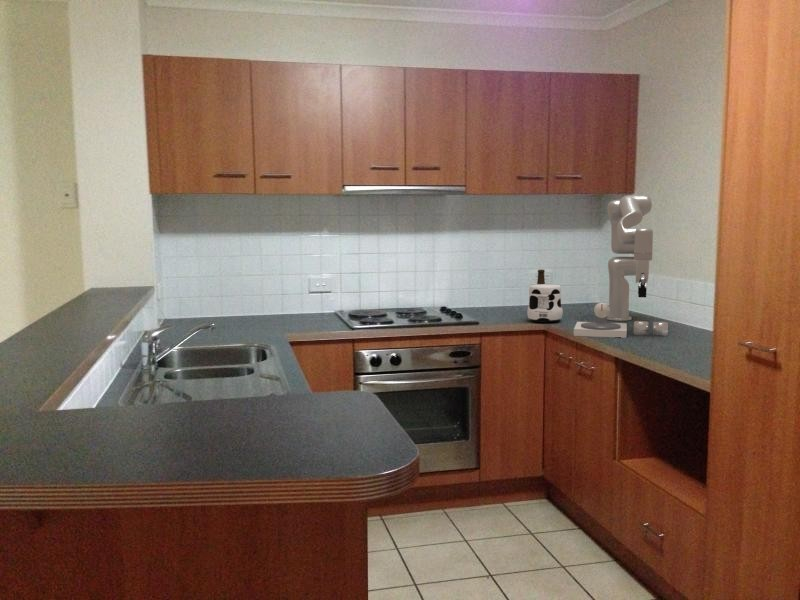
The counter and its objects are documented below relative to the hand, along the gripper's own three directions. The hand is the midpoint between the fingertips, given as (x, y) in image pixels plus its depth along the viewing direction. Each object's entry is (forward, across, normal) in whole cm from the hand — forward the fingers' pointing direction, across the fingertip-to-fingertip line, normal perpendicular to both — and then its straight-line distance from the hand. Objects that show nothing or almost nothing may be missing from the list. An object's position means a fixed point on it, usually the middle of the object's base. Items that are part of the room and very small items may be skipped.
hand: (642, 296), depth 297 cm
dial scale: (+17, 0, -17) cm, 24 cm away
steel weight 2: (+17, 0, +8) cm, 19 cm away
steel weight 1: (+17, 0, 0) cm, 17 cm away
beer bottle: (+16, -54, -50) cm, 75 cm away
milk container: (+17, -28, -45) cm, 56 cm away
